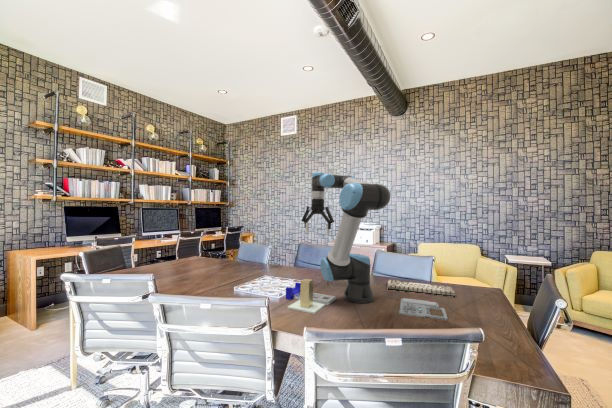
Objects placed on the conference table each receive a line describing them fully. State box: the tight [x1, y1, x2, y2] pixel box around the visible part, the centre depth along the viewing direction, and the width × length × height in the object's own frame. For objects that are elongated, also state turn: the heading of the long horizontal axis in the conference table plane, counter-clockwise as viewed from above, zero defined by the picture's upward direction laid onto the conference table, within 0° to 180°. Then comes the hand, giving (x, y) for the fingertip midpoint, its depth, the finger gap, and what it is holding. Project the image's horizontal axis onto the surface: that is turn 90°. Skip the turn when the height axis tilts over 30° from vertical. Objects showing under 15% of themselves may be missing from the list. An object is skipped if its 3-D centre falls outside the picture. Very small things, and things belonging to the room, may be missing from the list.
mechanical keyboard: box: [385, 279, 457, 298], centre depth 168 cm, size 38×19×3 cm, turn 72°
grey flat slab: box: [398, 297, 448, 321], centre depth 135 cm, size 23×3×20 cm
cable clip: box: [285, 281, 301, 301], centre depth 152 cm, size 12×4×6 cm, turn 154°
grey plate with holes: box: [292, 292, 337, 306], centre depth 147 cm, size 20×10×2 cm, turn 63°
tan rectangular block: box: [300, 278, 314, 308], centre depth 135 cm, size 4×4×12 cm
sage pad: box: [286, 299, 326, 315], centre depth 135 cm, size 14×12×1 cm
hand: (317, 234), depth 169 cm, fingers open, 13 cm apart
